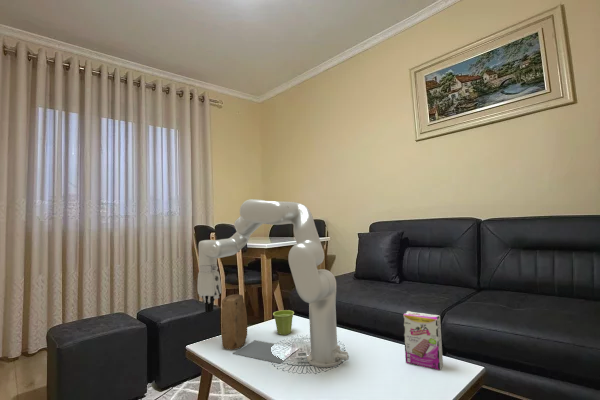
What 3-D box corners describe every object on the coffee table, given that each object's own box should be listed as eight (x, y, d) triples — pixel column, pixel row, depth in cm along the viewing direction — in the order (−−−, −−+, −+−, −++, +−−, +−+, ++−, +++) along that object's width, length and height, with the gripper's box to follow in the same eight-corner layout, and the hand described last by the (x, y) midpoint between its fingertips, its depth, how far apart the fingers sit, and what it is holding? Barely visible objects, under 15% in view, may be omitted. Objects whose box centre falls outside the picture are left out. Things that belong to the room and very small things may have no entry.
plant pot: (272, 330, 148) (271, 311, 148) (293, 328, 150) (292, 309, 150) (274, 337, 139) (274, 317, 139) (296, 335, 140) (295, 314, 141)
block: (235, 351, 126) (234, 299, 127) (219, 349, 128) (218, 298, 129) (250, 341, 136) (248, 293, 137) (235, 339, 138) (233, 292, 139)
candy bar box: (405, 363, 109) (402, 314, 110) (409, 358, 113) (406, 310, 114) (440, 371, 103) (437, 318, 104) (443, 365, 107) (440, 314, 108)
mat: (299, 348, 126) (299, 348, 126) (280, 363, 113) (280, 363, 113) (254, 340, 136) (254, 340, 136) (232, 353, 124) (232, 353, 124)
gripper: (227, 268, 140) (228, 311, 139) (202, 266, 147) (203, 307, 146) (214, 270, 133) (216, 316, 132) (189, 269, 141) (190, 312, 140)
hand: (209, 311), depth 139 cm, fingers closed
